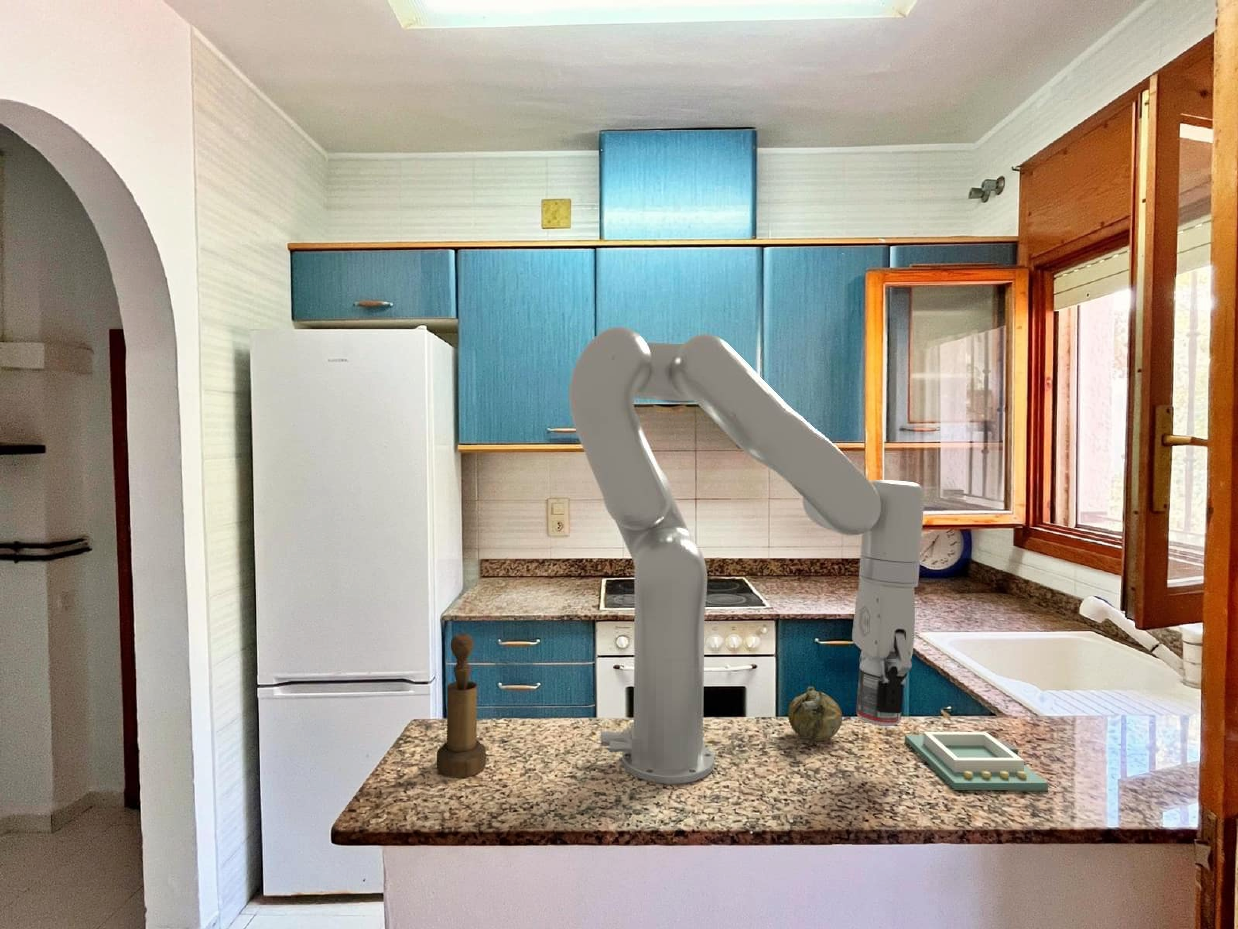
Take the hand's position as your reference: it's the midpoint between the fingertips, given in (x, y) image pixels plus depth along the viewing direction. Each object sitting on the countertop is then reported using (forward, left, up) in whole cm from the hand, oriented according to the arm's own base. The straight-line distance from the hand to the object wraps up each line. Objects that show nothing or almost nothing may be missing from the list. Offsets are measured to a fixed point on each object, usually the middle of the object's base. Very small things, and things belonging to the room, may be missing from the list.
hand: (879, 701), depth 95 cm
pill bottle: (0, 0, -3) cm, 3 cm away
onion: (-6, +10, -9) cm, 15 cm away
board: (+13, +1, -9) cm, 16 cm away
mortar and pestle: (-57, 0, -9) cm, 57 cm away
